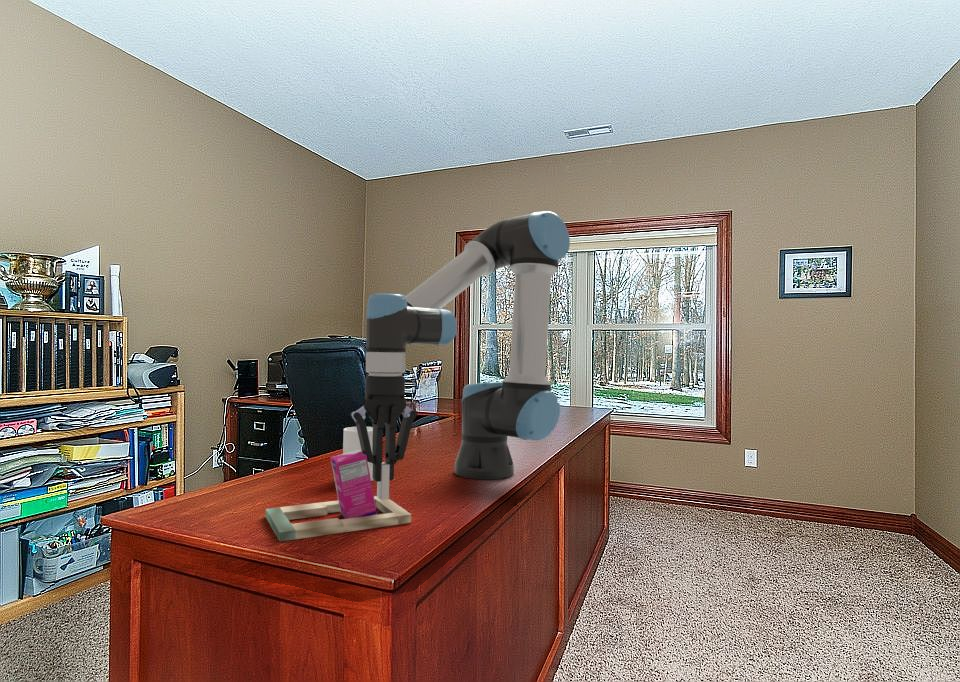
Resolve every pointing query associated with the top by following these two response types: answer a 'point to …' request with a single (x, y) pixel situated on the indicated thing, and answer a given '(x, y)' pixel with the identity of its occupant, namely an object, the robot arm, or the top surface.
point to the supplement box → (353, 484)
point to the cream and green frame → (289, 531)
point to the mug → (356, 443)
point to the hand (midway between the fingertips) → (382, 497)
